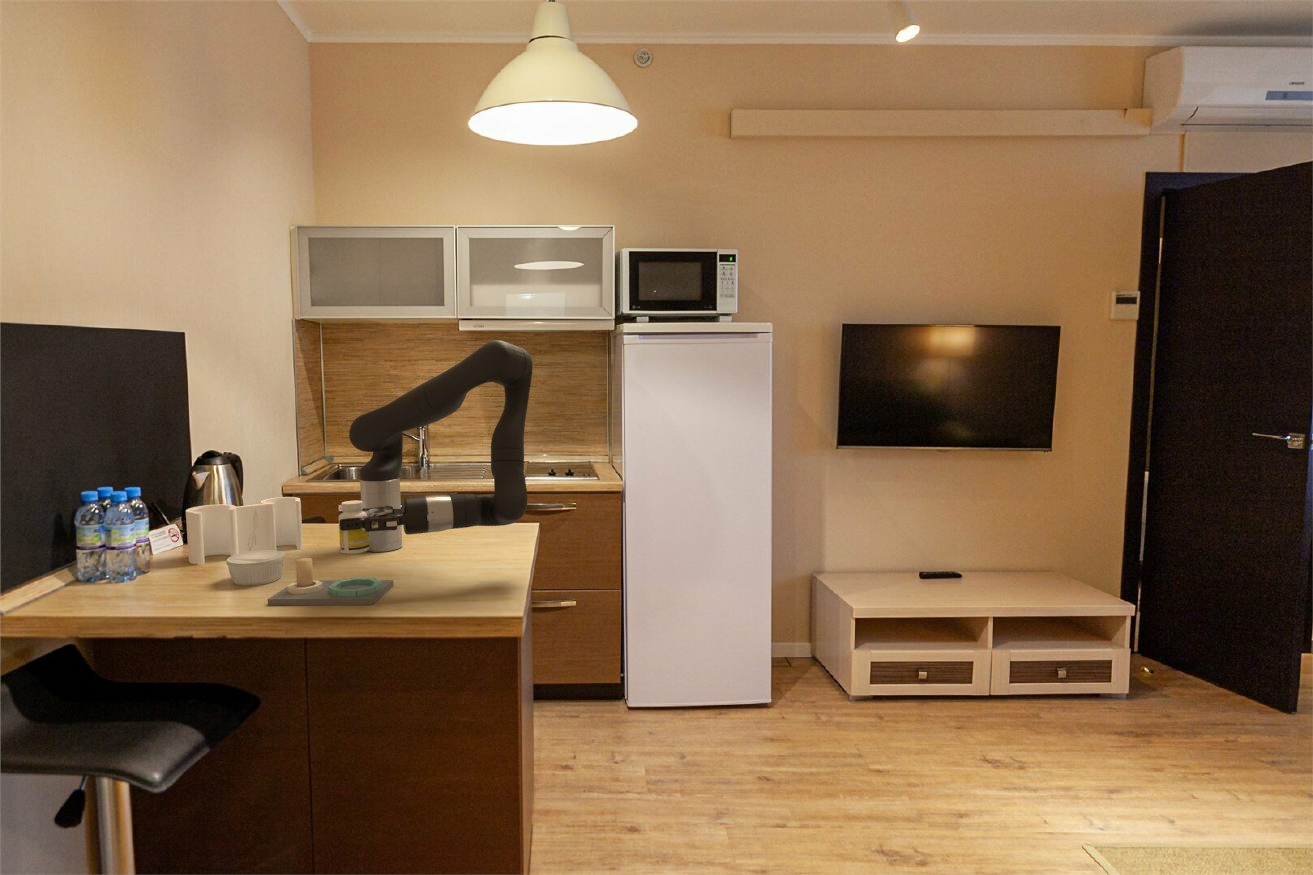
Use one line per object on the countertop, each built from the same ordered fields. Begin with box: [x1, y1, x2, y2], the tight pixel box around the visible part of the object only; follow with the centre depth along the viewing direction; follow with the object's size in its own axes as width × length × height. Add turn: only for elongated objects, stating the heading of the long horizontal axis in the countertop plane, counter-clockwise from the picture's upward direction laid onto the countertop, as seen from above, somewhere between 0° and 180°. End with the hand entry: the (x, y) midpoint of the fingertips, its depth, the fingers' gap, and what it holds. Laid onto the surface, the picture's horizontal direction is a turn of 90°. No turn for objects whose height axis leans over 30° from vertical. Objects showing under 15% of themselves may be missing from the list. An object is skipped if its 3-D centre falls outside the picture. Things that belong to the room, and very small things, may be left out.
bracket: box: [185, 496, 304, 566], centre depth 202 cm, size 25×10×12 cm, turn 130°
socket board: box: [267, 557, 395, 606], centre depth 167 cm, size 20×13×7 cm, turn 90°
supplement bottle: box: [338, 500, 369, 555], centre depth 166 cm, size 5×5×10 cm
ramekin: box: [226, 549, 286, 587], centre depth 179 cm, size 11×11×5 cm
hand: (339, 522), depth 165 cm, fingers closed on supplement bottle, 5 cm apart
